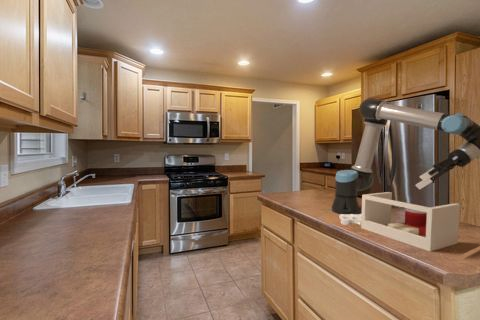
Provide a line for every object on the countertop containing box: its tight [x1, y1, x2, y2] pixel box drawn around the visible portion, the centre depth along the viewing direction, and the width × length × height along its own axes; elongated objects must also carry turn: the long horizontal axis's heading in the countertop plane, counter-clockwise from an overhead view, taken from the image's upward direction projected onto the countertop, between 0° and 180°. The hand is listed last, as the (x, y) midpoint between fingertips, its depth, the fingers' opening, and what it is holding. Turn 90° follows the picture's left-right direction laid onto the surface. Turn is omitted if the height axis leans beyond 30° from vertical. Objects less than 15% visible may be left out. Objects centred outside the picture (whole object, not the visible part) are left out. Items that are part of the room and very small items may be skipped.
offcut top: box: [387, 222, 419, 234], centre depth 103 cm, size 9×6×2 cm, turn 21°
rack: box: [360, 191, 461, 252], centre depth 104 cm, size 28×18×16 cm, turn 26°
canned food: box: [404, 208, 427, 237], centre depth 107 cm, size 8×8×11 cm
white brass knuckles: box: [338, 213, 362, 226], centre depth 125 cm, size 3×18×15 cm
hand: (419, 183), depth 114 cm, fingers open, 13 cm apart
